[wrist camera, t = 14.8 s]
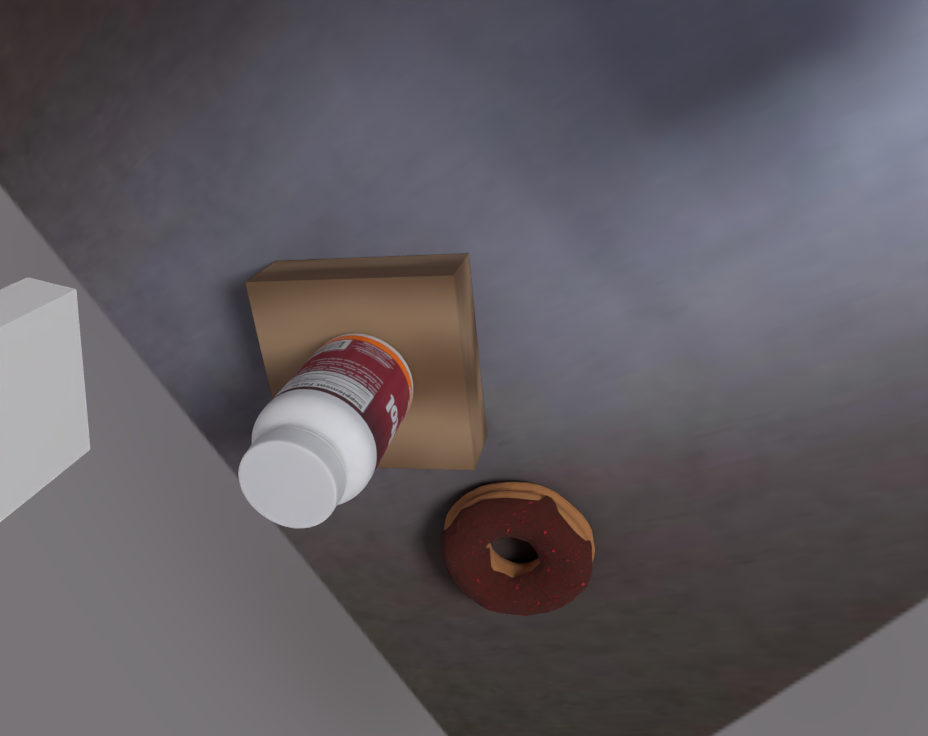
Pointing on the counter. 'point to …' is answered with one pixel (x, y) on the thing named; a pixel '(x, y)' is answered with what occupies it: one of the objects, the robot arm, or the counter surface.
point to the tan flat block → (386, 340)
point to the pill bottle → (326, 431)
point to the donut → (526, 518)
